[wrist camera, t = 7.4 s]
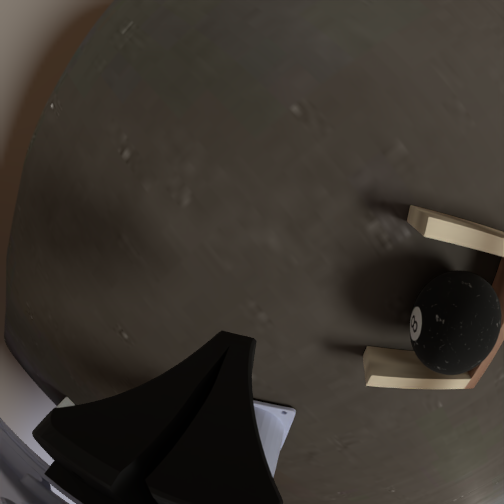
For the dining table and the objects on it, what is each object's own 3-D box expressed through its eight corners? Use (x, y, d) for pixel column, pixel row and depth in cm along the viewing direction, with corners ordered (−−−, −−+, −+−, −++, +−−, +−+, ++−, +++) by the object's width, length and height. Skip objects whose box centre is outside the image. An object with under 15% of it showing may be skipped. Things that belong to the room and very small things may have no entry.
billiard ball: (460, 333, 15) (489, 387, 10) (392, 335, 17) (408, 399, 11) (483, 258, 13) (531, 301, 8) (410, 253, 15) (446, 304, 9)
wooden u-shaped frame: (362, 356, 18) (366, 385, 15) (410, 204, 14) (428, 216, 11) (462, 363, 16) (473, 388, 13) (516, 236, 12) (540, 251, 9)
